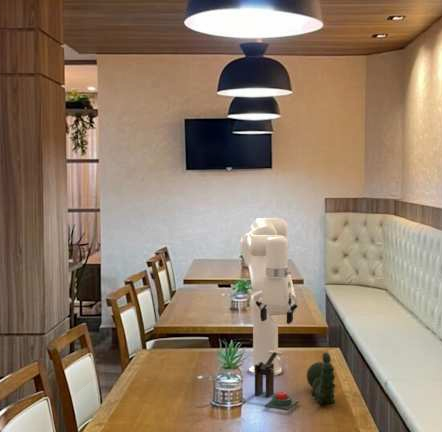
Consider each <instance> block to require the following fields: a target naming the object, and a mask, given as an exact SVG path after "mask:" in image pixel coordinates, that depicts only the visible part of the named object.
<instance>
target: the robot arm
mask: <svg viewBox="0 0 442 432" xmlns="http://www.w3.org/2000/svg"><path fill="white" fill-rule="evenodd" d="M288 232H289V227H288V223H287V222H286V220H285V219H283V218H281V217H260V218H256V219H255V220H253V222H251V225H250V231H249V232H248V233H245V234H243V235H242V236H241V237H240V243H239V244H240V253H241V256H242V258H243V261H245V264H246V266H247V268H248V272H249V278H250V284H251V287H252V290H253V293H252V295H251V297H250V306H251V313H252V366H251V367H249V368H248V372H251V373H255V365H256V364H258V363H259V362H263V364H266V363H267V361H268V360H269V358H270V357H271V355H272V354H269V353H268V351H269V350H275V351H279V327H278V323H277V322H276V321H275V319H273V316H277V315H278V316H284V315H285V316H286V324H287V325H290V324H292V323H293V321H294V313H295V312H296V311H297V308H298V307H299V305H300V303H301V299H300V298H299V297H297V296H296V292H295V288H294V287H295V286H294V283H293V280H292V276H291V274H292V271H291V270H289V268H288V262H289V261H288V252H289V248H290V247H289V246H290V243H289V239H287V238H288V235H289V234H288ZM280 361H281V358H280V357H279V355H276V357H275V358H274V360H273V361H272V363H273V364H274V376H278V375H280V374H282V372H283V369H282V367H281V366H279V362H280Z"/></svg>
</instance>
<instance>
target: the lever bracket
mask: <svg viewBox="0 0 442 432" xmlns="http://www.w3.org/2000/svg"><path fill="white" fill-rule="evenodd" d="M262 364H263V362H259V363H258V364H256V365H255V372H254V397H259V396H260V395H262V394H264V375H260V370H259V368H260V367H261V365H262ZM274 382H275V375H274V364H273V363H271V364H269V365H268V366H266V375H265V398H266V399H270V398H272V397H273V396H275V391H274V390H275V388H274V387H275V383H274Z"/></svg>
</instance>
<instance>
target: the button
mask: <svg viewBox="0 0 442 432" xmlns="http://www.w3.org/2000/svg"><path fill="white" fill-rule="evenodd" d="M276 395H277V399H280V400H284V399H287V395H288V394H287V392H285V391H277V393H276Z"/></svg>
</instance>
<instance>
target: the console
mask: <svg viewBox="0 0 442 432" xmlns="http://www.w3.org/2000/svg"><path fill="white" fill-rule="evenodd" d="M298 403H299V400H297V399H292V396H290V395H289V394H287V399H284V400H280V399H277V394H274V395H272V396H271V400H270V401H268V402H267V403H265V404H264V408H269V409H276V410H282V411H289V410H290V409H292V408H293V407H294V406H295V405H297V404H298Z"/></svg>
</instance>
